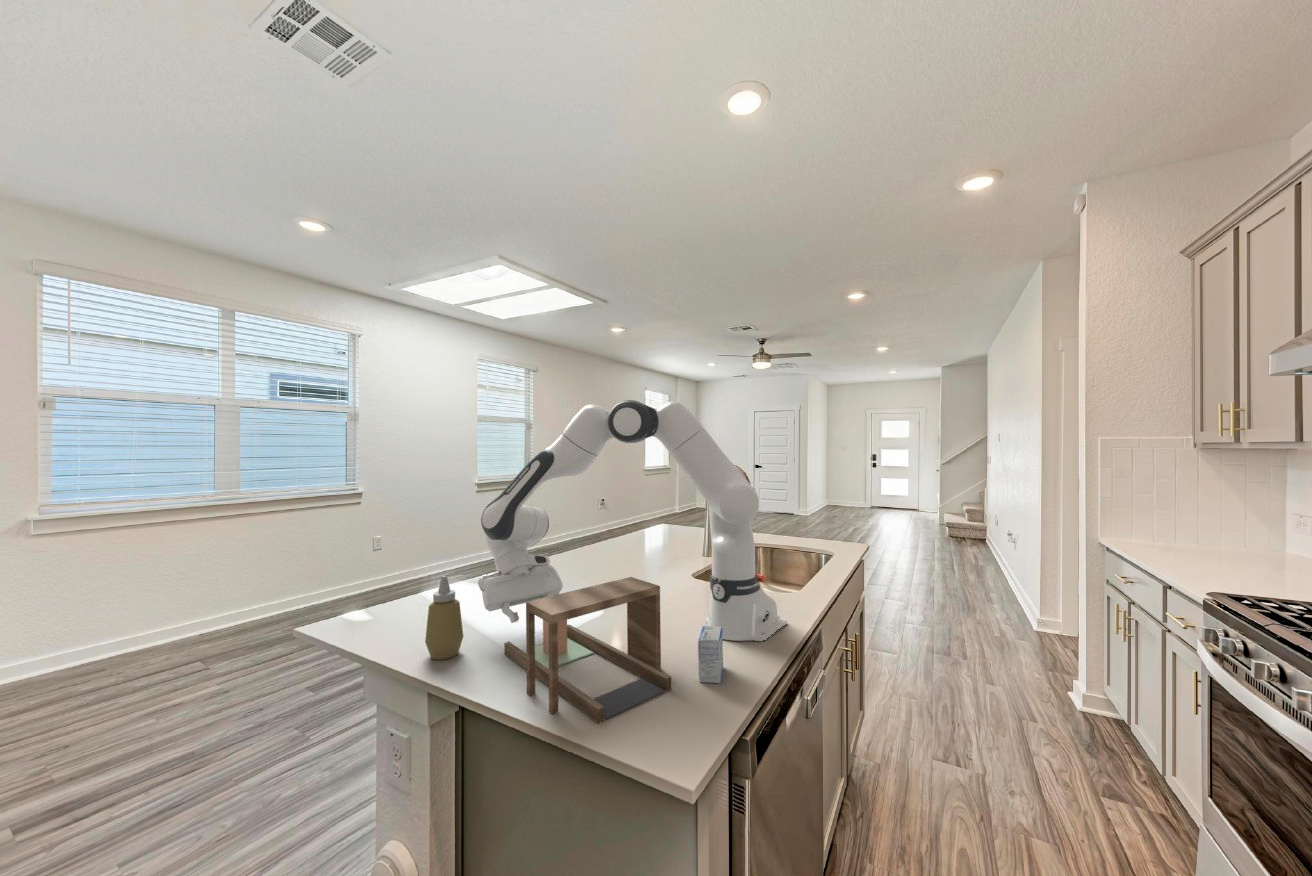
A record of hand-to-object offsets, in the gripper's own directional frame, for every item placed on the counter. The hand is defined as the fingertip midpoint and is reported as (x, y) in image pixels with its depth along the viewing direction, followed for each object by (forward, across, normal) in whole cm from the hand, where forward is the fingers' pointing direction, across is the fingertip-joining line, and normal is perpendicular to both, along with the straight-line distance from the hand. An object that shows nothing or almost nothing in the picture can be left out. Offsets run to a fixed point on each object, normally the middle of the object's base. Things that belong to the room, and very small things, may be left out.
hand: (533, 616), depth 119 cm
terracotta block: (+11, 0, -3) cm, 12 cm away
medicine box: (+34, +19, -25) cm, 46 cm away
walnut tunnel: (+20, 0, -12) cm, 23 cm away
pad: (+12, 0, -3) cm, 12 cm away
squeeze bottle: (0, -19, +9) cm, 21 cm away
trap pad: (+30, 0, -22) cm, 37 cm away
